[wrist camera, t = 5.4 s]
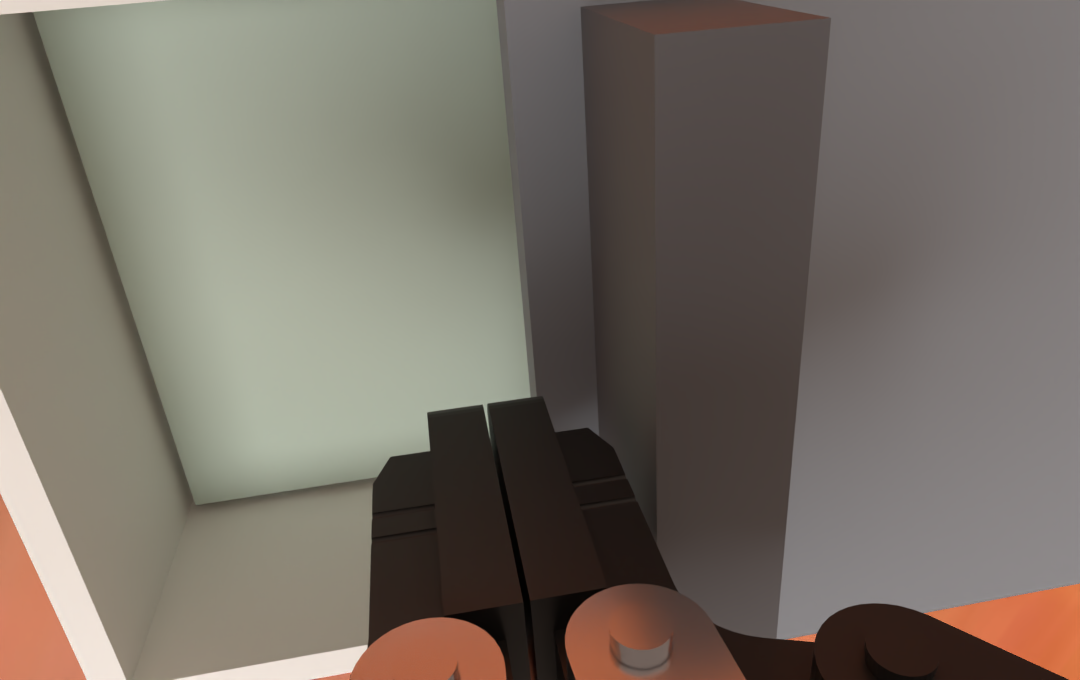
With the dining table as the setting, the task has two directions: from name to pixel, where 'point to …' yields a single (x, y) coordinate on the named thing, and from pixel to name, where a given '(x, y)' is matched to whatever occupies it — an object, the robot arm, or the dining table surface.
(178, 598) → the mailer box
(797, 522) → the lid
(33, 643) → the dining table surface
